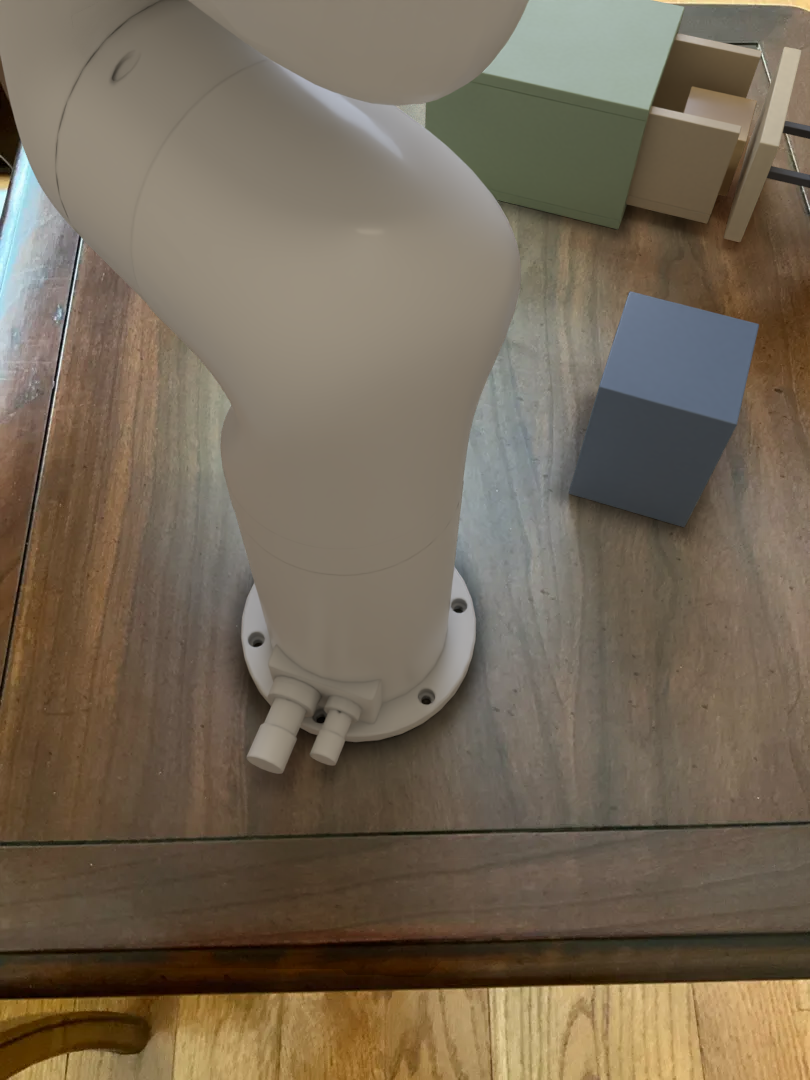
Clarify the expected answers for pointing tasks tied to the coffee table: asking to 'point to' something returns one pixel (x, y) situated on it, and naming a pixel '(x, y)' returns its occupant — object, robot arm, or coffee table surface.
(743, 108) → the block
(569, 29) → the cabinet
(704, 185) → the drawer
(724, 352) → the stand
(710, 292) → the coffee table surface
